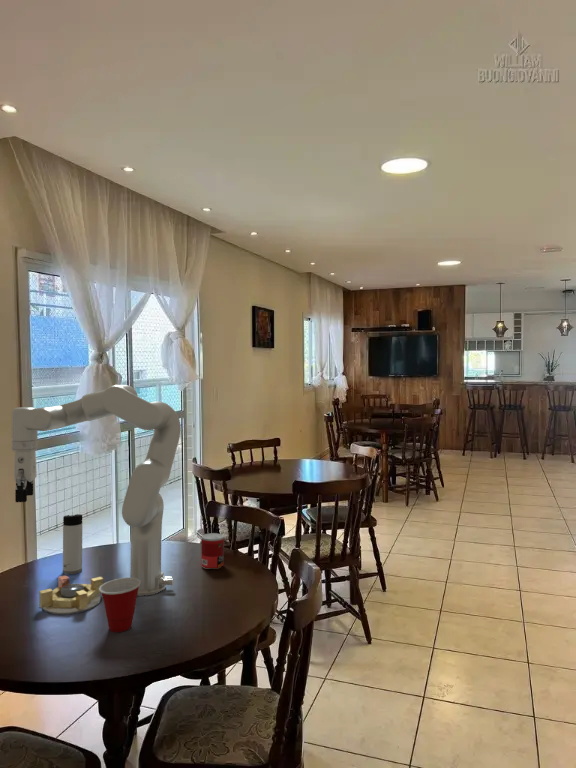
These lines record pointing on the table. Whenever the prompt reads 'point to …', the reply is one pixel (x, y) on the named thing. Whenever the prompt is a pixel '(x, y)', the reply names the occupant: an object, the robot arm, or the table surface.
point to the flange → (70, 592)
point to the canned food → (212, 550)
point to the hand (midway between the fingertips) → (24, 498)
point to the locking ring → (79, 601)
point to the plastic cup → (120, 602)
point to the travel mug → (72, 544)
